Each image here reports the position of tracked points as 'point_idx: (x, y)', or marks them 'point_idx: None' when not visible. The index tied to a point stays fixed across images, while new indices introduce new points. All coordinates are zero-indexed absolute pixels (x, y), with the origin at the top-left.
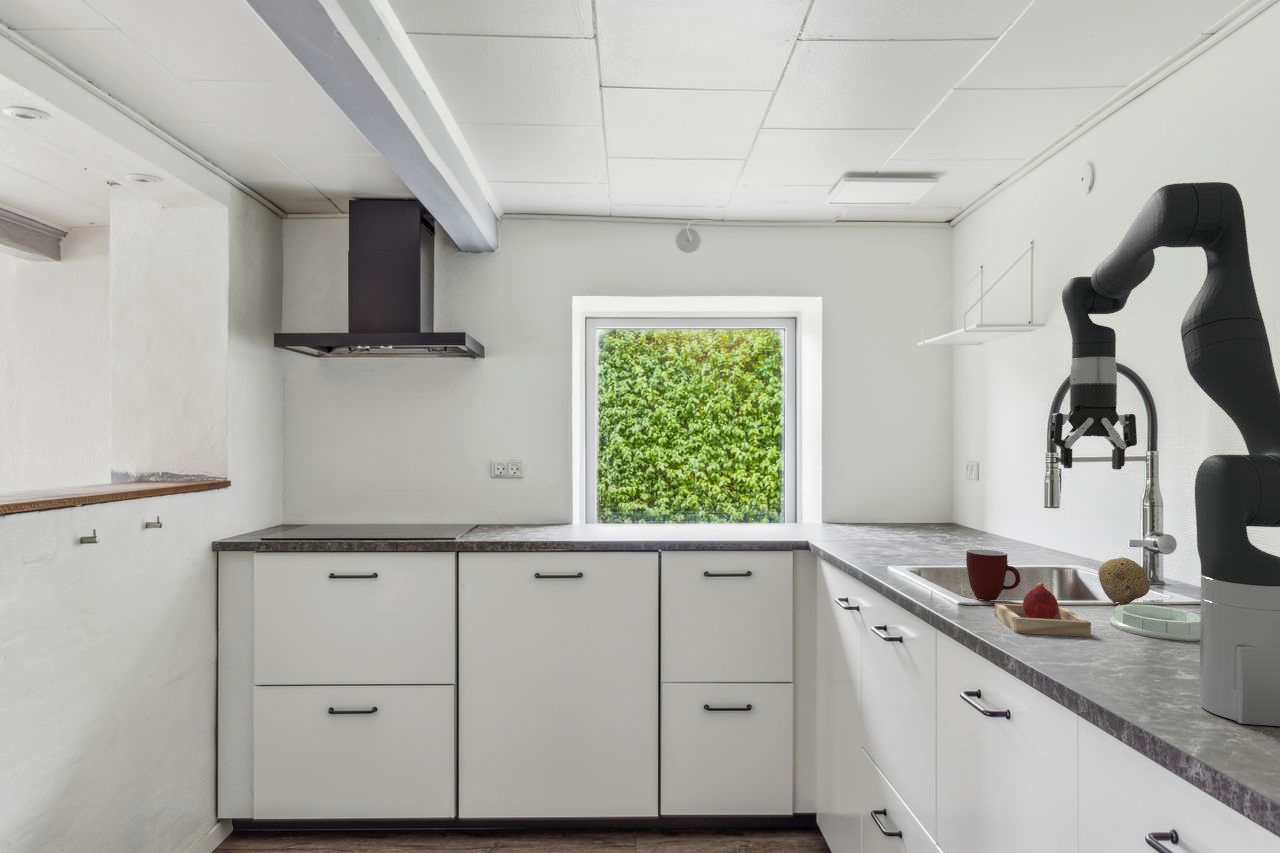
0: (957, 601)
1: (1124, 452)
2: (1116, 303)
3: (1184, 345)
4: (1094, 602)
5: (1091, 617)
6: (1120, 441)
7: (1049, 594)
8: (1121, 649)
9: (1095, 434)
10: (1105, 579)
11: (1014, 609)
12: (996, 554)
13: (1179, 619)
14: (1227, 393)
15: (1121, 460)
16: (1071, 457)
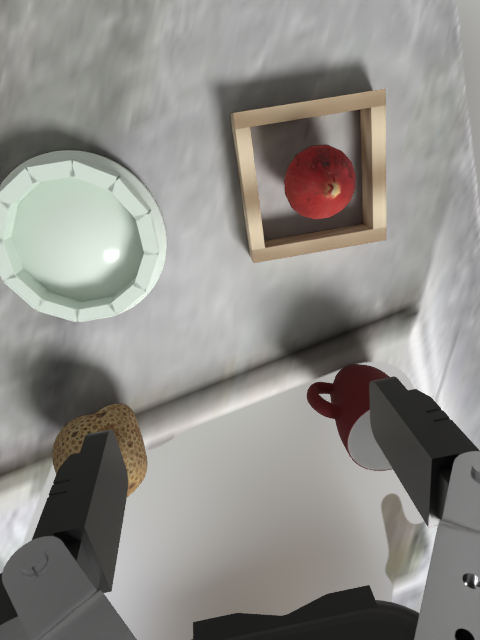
0: (411, 336)
1: (36, 532)
2: None
3: None
4: (157, 427)
5: (190, 297)
6: (42, 598)
7: (314, 168)
8: (192, 12)
9: (281, 624)
10: (139, 438)
11: (348, 231)
12: (357, 459)
13: (33, 279)
14: None
15: (75, 467)
16: (404, 413)
